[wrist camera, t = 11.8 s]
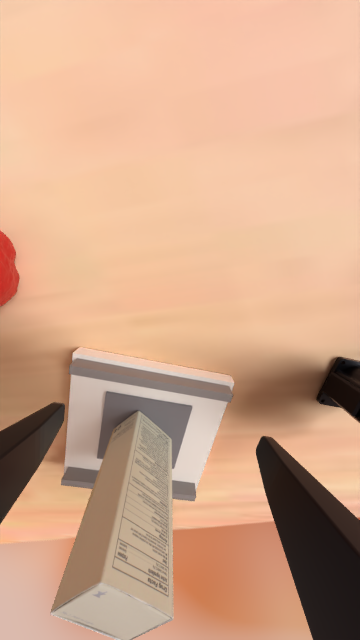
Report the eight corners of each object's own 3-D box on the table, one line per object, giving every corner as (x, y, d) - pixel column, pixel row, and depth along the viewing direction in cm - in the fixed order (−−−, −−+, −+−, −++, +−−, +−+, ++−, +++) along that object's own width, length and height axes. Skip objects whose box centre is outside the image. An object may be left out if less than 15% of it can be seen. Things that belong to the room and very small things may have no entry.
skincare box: (112, 427, 22) (41, 613, 10) (140, 407, 21) (97, 582, 9) (148, 457, 23) (122, 648, 12) (175, 439, 23) (175, 624, 11)
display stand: (230, 375, 22) (239, 391, 19) (194, 479, 27) (197, 504, 24) (79, 346, 21) (64, 359, 18) (70, 462, 26) (56, 487, 23)
